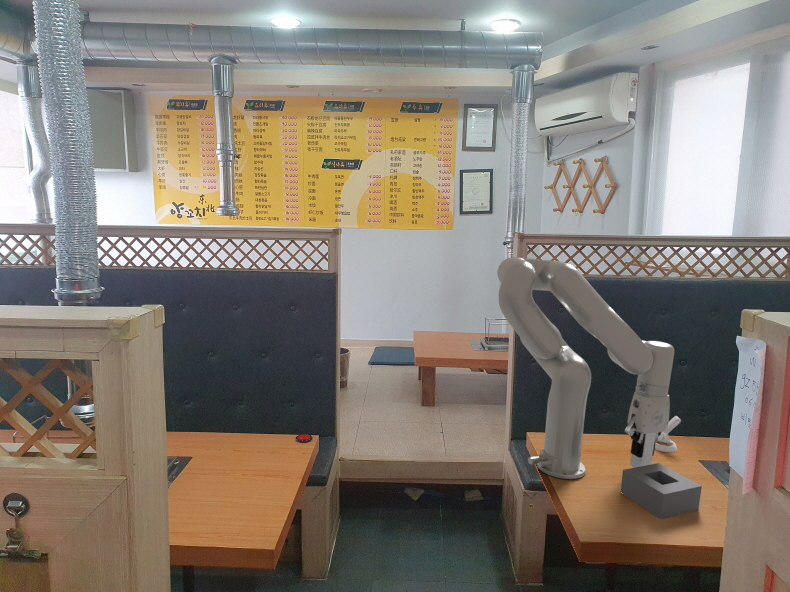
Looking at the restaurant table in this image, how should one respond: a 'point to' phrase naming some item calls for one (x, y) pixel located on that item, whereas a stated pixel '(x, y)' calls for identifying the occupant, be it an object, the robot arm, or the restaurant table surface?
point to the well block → (661, 490)
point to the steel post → (644, 451)
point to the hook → (667, 437)
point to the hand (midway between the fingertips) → (642, 453)
